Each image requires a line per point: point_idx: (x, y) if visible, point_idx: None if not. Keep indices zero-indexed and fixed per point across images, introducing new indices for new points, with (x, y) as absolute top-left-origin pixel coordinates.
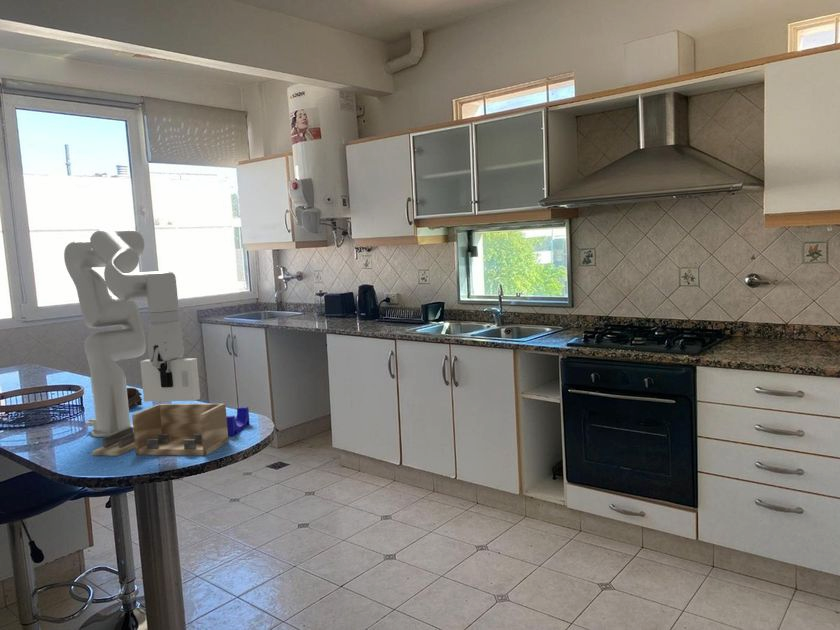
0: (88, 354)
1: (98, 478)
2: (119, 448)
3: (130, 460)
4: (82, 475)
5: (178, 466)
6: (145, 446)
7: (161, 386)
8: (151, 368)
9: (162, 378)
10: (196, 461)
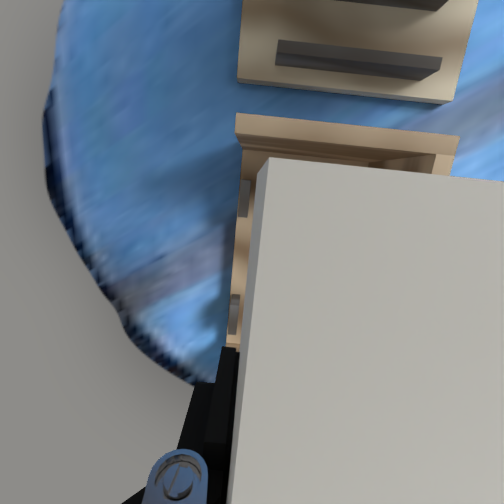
0: None
1: (47, 145)
2: (267, 61)
3: (191, 153)
4: (63, 75)
5: (146, 311)
6: (268, 157)
7: (222, 347)
8: (240, 371)
9: (186, 423)
10: (181, 337)
